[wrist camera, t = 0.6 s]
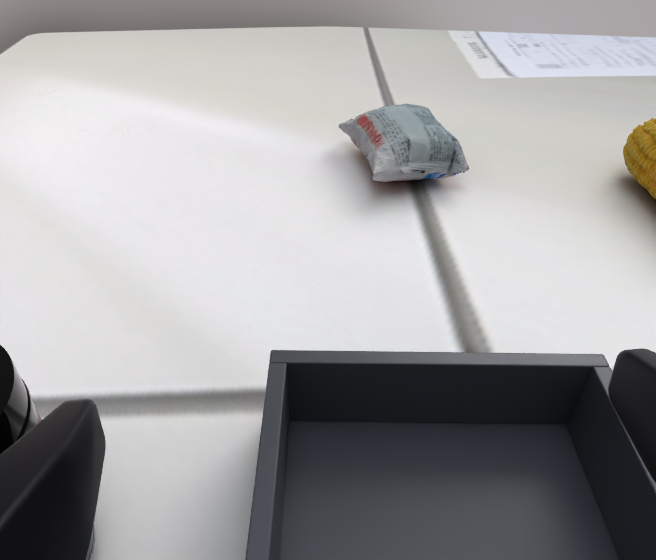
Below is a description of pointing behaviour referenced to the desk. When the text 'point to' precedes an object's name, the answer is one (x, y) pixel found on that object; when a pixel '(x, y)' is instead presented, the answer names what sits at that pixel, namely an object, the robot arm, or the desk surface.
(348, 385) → the square tray
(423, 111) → the packaged food
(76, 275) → the desk surface
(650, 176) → the food
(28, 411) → the supplement container
